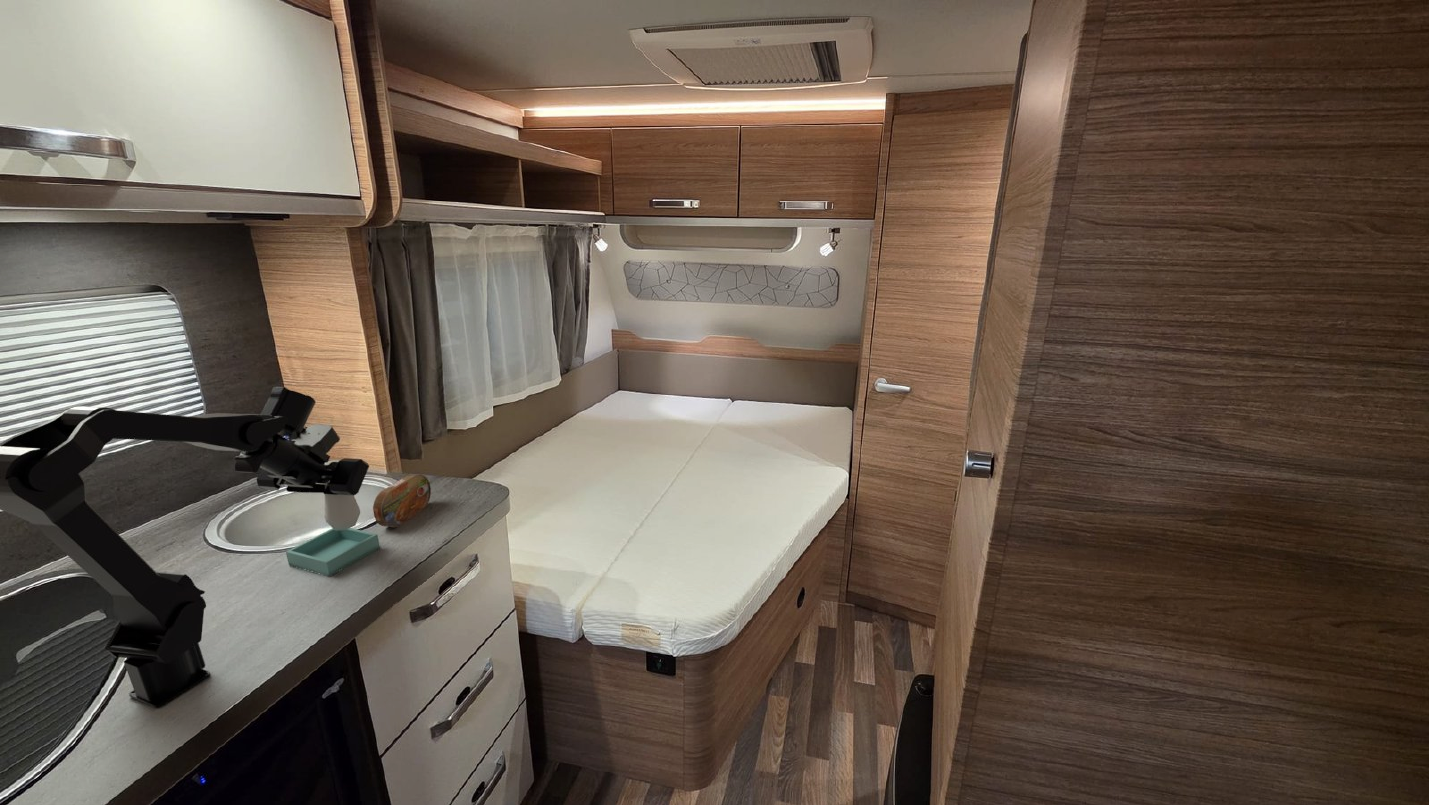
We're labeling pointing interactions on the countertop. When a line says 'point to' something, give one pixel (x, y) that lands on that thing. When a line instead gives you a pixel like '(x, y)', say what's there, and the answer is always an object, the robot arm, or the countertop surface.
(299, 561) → the tray
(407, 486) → the tin
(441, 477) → the countertop surface
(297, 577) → the countertop surface
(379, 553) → the countertop surface
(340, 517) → the salt shaker
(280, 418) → the robot arm
